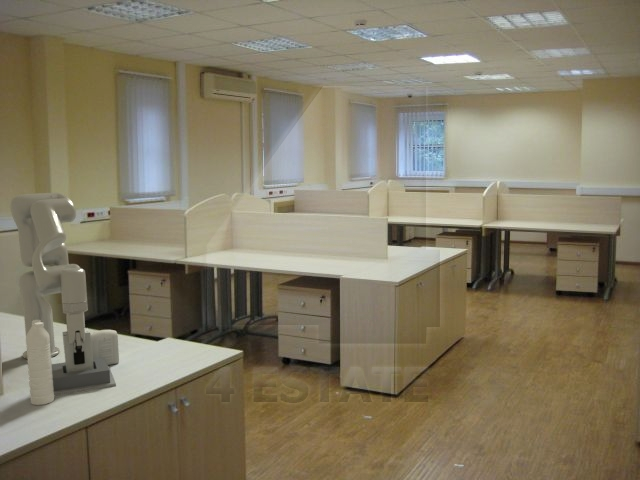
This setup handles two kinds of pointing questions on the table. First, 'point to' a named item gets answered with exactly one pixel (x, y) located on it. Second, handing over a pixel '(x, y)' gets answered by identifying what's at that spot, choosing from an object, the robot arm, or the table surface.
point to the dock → (82, 378)
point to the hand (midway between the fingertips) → (78, 360)
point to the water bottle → (39, 364)
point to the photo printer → (105, 345)
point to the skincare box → (70, 356)
